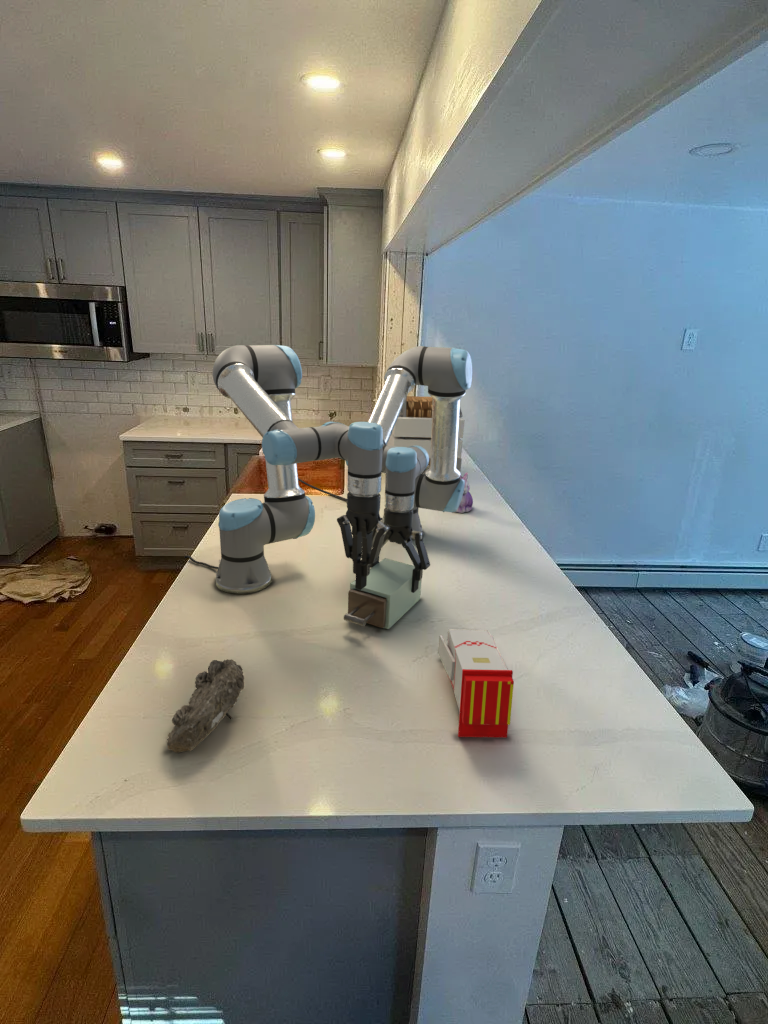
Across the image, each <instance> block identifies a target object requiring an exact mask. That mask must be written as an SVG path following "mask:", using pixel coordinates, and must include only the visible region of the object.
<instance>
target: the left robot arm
mask: <svg viewBox="0 0 768 1024" xmlns="http://www.w3.org/2000/svg"><path fill="white" fill-rule="evenodd" d="M212 378H213V383H214V385H215V387H216V388H217V390H218V391H219V392H220V394H222V396H223V397H225V398H226V399H228V400H229V399H230V400H231V401H232V403H234V404H235V406H236V407H237V408H238V410H239V411H240V412H241V414H243V416H244V417H245V418H246V420H248V421H249V423H250V424H251V426H252V427H253V428H254V429H255V431H256V432H257V433H258V434H259V435H260V437H261V438H262V439H261V450H262V454H263V456H264V460H265V468H266V469H265V470H266V478H267V487H268V489H267V490H266V492H265V493H264V494H263V501H264V502H262V501H261V500H260V499H259V498H252V497H249V498H246V497H244V498H239V499H235V500H232V501H229V502H228V503H227V502H226V504H224V505H223V506H222V507H221V508H220V510H219V512H218V524H217V525H218V530H219V544H220V545H219V546H220V560H219V564H218V566H215V565H210V564H209V563H207V562H202V561H197V560H196V559H194V558H193V557H192V556H191V555H189V554H187V555H185V556H184V559H189V560H190V561H191V562H192V563H194V564H196V565H201V566H205V567H207V568H210V569H214V570H216V573H215V585H216V587H217V589H219V590H220V591H222V592H224V593H228V594H233V595H234V594H235V595H245V594H252V593H256V592H260V591H262V590H264V589H266V588H267V587H269V586H270V584H271V583H272V572H271V570H270V566H269V565H268V561H267V559H266V557H265V546H266V545H270V544H275V543H279V542H284V541H288V540H289V541H290V540H297V539H298V538H301V537H306V536H307V535H309V534H310V533H311V531H312V529H313V528H314V525H315V521H316V510H315V509H316V508H315V505H314V502H313V500H312V499H311V497H309V496H308V495H306V491H305V490H304V489H303V488H302V487H300V484H299V482H300V481H299V480H298V478H299V472H298V464H300V463H301V464H302V463H308V462H316V461H324V460H331V459H341V460H343V461H345V462H346V461H348V466H347V493H346V499H347V501H346V508H347V510H346V512H345V514H343V515H341V516H339V517H337V518H336V522H337V524H338V526H339V528H340V533H341V539H342V544H343V549H344V554H345V557H346V558H348V559H351V560H352V573H353V574H354V575H355V580H356V582H355V588H356V589H359V590H361V589H363V588H364V587H365V586H366V585H367V576H368V575H369V574H370V569H371V568H370V564H373V563H374V562H376V561H377V560H378V558H379V559H380V556H381V555H380V554H381V551H382V549H383V547H382V545H383V541H384V538H385V534H386V533H387V532H388V530H389V529H390V527H389V525H386V526H385V525H384V524H383V523H382V520H381V518H382V517H381V515H380V510H381V497H382V496H381V494H380V493H381V492H382V473H381V471H382V455H383V445H384V443H383V429H382V427H381V425H379V424H377V423H371V422H368V421H354V422H352V423H351V424H349V425H346V424H344V423H342V422H338V421H327V422H324V423H323V424H322V425H320V426H309V427H308V426H307V427H298V426H297V425H296V424H295V423H294V421H293V412H292V400H293V398H294V397H295V396H296V389H297V388H299V387H300V386H301V384H302V379H303V370H302V364H301V361H300V359H299V357H298V355H297V353H296V352H295V350H294V349H292V348H291V347H290V346H288V345H281V344H279V345H278V344H255V345H253V344H251V345H250V344H249V345H243V344H236V345H233V346H230V347H228V348H225V349H224V350H222V352H221V353H219V355H218V356H217V357H216V359H215V360H214V363H213V366H212ZM376 526H377V532H378V533H377V534H376V537H375V540H374V544H373V547H372V535H373V531H374V529H375V527H376Z"/></svg>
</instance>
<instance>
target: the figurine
mask: <svg viewBox="0 0 768 1024" xmlns="http://www.w3.org/2000/svg"><path fill="white" fill-rule="evenodd" d="M460 479H463V480H465V487H464V492H463V496H462V499H461V502H460V505H459V507H458V509H457V511H455V512H454V513H462V514H463V513H468V512H470V511H471V510H472V509H473V505H474V499H473V496H472V494H471V492H470V489H471V487H470V484H469V482H468V479H469V473H468V472H465V473H464V474H463V476H462V474H460Z"/></svg>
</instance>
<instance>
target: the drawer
mask: <svg viewBox="0 0 768 1024" xmlns="http://www.w3.org/2000/svg"><path fill="white" fill-rule="evenodd" d="M347 593H348V595H347V596H348V597H347V613H344V615H343V620H344V621H346V622H349V623H352V624H354V625H357V626H361V627H365V626H366V624H369V625H371V626H375V627H377V628H381V629H385V628H384V627H385V624H386V603H387V600H386V598H385V597H381V596H378V595H375V594H371V593H368V592H365V591H361V590H358V589H357V591H356V590H353V589H350V588H349V589H348V592H347Z"/></svg>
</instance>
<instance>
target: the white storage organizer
mask: <svg viewBox="0 0 768 1024" xmlns="http://www.w3.org/2000/svg"><path fill="white" fill-rule="evenodd" d="M432 401H433V398H432V397H431V396H415V395H414V396H413V395H412V396H411V395H407V397H406V399H405V402H404V404H403V407H402V409H401V412H400V414H399V416H398V419H397V421H396V424H395V426H394V429H393V431H392V434H391V436H390V438H389V441H388V443H387V445H388V446H396V447H410V446H421V447H422V448H424V449H425V450H426V451H427V453H428V455H429V464H428V467H430V457H431V429H432ZM464 429H465V419H464V418H463V411H462V408H461V407H460V410H459V427H458V444H457V461H456V469H457V470H458V471H459V472H460V475H462V474H461V472H462V461H463V460H462V453H463V442H464V441H463V440H462V439H463V438H464V431H465V430H464Z"/></svg>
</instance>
